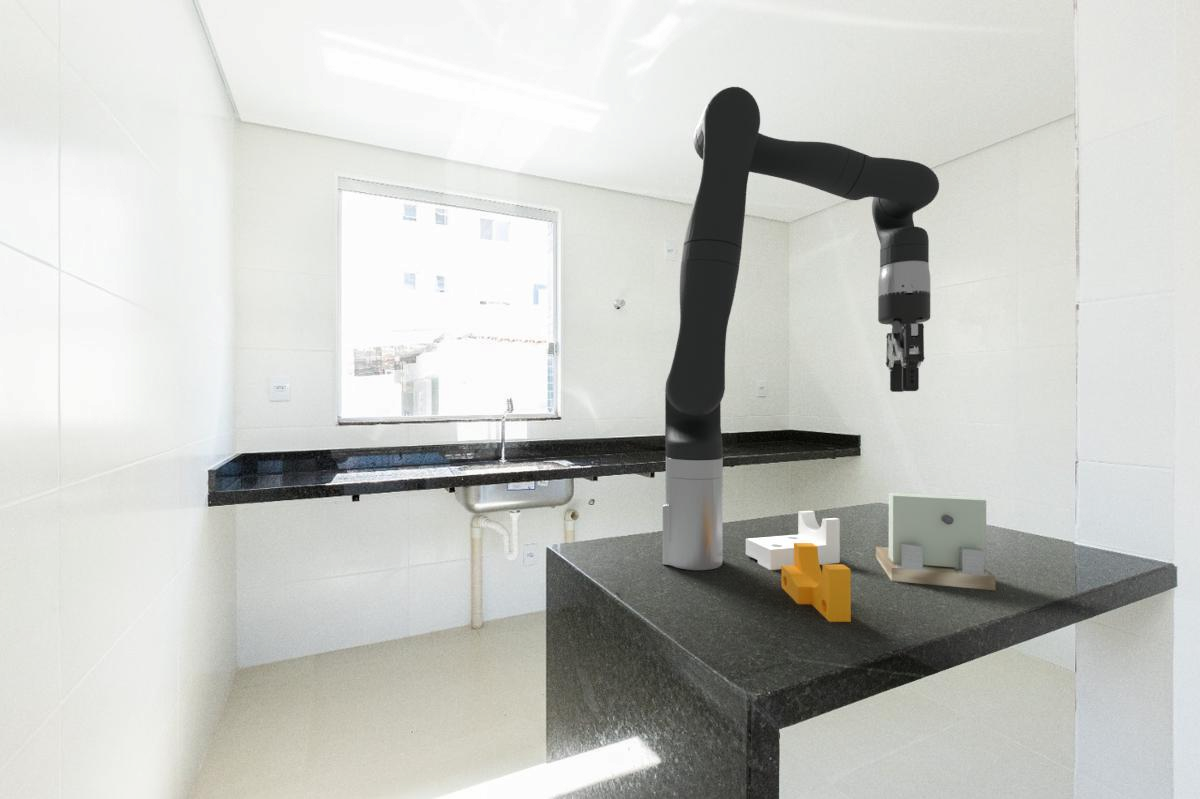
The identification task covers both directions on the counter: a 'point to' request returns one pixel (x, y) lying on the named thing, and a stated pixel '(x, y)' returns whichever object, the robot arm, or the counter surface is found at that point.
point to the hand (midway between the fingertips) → (903, 391)
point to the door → (936, 526)
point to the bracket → (781, 548)
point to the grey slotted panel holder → (968, 565)
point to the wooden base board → (933, 574)
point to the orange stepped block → (818, 583)
